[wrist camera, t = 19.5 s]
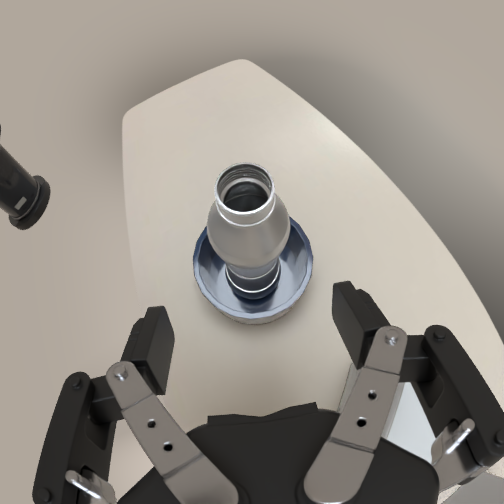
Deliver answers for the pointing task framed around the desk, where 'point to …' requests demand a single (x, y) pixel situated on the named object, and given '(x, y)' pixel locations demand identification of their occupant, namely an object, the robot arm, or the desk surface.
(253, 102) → the desk surface
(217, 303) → the bowl
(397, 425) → the white product box
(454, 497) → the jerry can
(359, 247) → the desk surface
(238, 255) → the silver bottle
